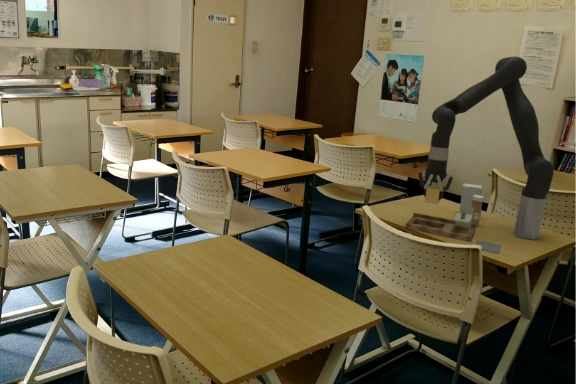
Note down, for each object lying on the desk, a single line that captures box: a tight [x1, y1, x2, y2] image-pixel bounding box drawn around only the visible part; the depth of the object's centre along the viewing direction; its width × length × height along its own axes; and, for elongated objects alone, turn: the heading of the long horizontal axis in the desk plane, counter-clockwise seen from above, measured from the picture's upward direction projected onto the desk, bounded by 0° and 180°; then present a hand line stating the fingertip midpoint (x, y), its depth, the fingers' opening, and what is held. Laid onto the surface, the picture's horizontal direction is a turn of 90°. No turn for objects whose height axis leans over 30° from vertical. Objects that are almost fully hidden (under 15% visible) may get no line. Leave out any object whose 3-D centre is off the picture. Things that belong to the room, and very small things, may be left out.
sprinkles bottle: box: [470, 195, 485, 227], centre depth 225 cm, size 5×5×14 cm
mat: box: [475, 239, 502, 254], centre depth 201 cm, size 10×10×1 cm
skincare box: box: [458, 183, 483, 215], centre depth 237 cm, size 8×6×15 cm
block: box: [424, 184, 441, 205], centre depth 213 cm, size 5×5×6 cm
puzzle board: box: [404, 212, 477, 243], centre depth 215 cm, size 26×13×4 cm, turn 64°
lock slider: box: [452, 210, 473, 229], centre depth 211 cm, size 6×10×8 cm, turn 154°
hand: (432, 198), depth 213 cm, fingers closed on block, 5 cm apart
